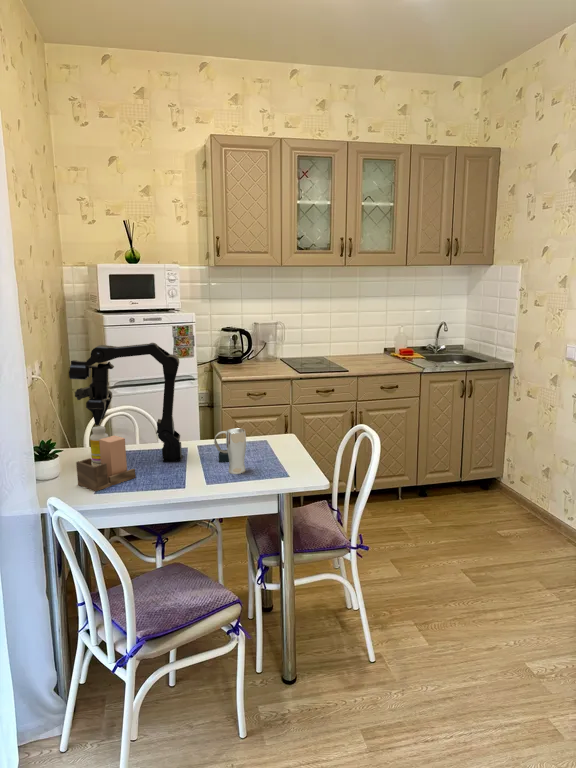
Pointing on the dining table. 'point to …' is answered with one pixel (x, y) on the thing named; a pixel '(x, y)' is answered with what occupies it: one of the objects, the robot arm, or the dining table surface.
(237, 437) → the beer glass
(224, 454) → the watch
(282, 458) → the dining table surface
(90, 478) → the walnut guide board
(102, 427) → the supplement bottle
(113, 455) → the terracotta block
